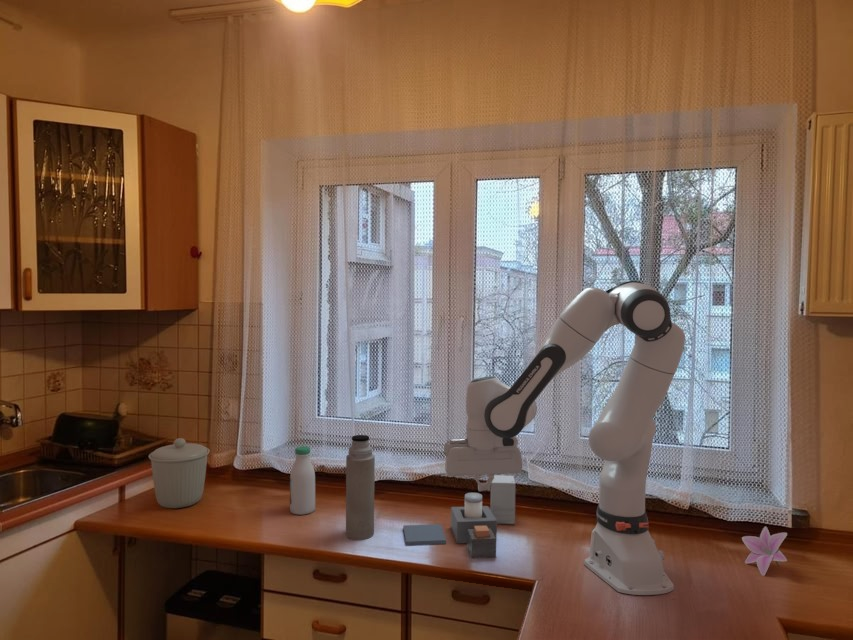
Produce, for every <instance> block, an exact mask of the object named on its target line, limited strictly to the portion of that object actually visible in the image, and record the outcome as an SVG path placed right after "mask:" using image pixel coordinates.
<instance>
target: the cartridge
mask: <svg viewBox="0 0 853 640" xmlns="http://www.w3.org/2000/svg"><path fill="white" fill-rule="evenodd" d="M482 506H483V494H481V493H479V492H467V493H465V494H464V507H465V512H464V518H482Z"/></svg>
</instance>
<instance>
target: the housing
mask: <svg viewBox="0 0 853 640" xmlns="http://www.w3.org/2000/svg"><path fill="white" fill-rule="evenodd" d="M464 512H465V506H451V507H450V529H451V531H452V534H453V536H454V538H455V542H456V544H467V529H474V526H487V527H488V529H491V530H492V532H493V533H494V535H495V537H496V538H497V535H498V534H497V526H498V525H497V520H496V518H495V517H494V515H493V513H492V512H491V510H490V506H488V505H482V518H464Z"/></svg>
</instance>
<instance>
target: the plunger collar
mask: <svg viewBox="0 0 853 640" xmlns="http://www.w3.org/2000/svg"><path fill="white" fill-rule="evenodd" d="M466 545H467V546H466V548H467V550H468V553H469V556H470V558H471V559H488V558H489V559H490V558H491V559H493V558H497V536H496V537H495V535H494V533H493V532H492V530H491V529H489V537H475V535H474V529H467V543H466Z"/></svg>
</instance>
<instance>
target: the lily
mask: <svg viewBox="0 0 853 640" xmlns="http://www.w3.org/2000/svg"><path fill="white" fill-rule="evenodd" d="M787 536H788V532H777V533H774V534H772V535H771V534H770V532H769V529H768V527H767V526H764V527H763V528H762V530H761V532H760V534H759V536H752V535H745V536H742V537H741V540H742V542H743V543H744V545H745V546H746V547H747V549H748V550H749V551H750V553H749V554H748V556H747V558H746V559H745V561H744V564H753V563H756V565H757V568H758V571H759V573H760V574H761V576H764V577H765V576H766V573H767V572H768V569H769V567H770V564H771V562H772V561H773V562H775V563H776V565H777V566H780V565H779V562H788V560H787V557H786V556H785V555H784V554H783V553H782V551H781V550H780V549H779V547H780V546H781V545H782V543H783V541H785V539H786V538H787Z"/></svg>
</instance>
